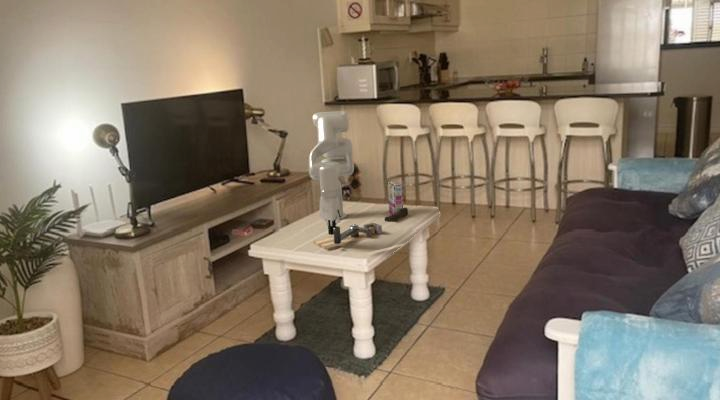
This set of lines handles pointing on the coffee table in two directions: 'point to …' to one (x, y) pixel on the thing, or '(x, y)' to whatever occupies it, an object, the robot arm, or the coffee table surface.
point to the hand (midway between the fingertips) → (332, 233)
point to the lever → (349, 232)
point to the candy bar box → (395, 197)
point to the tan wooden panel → (348, 238)
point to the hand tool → (397, 215)
